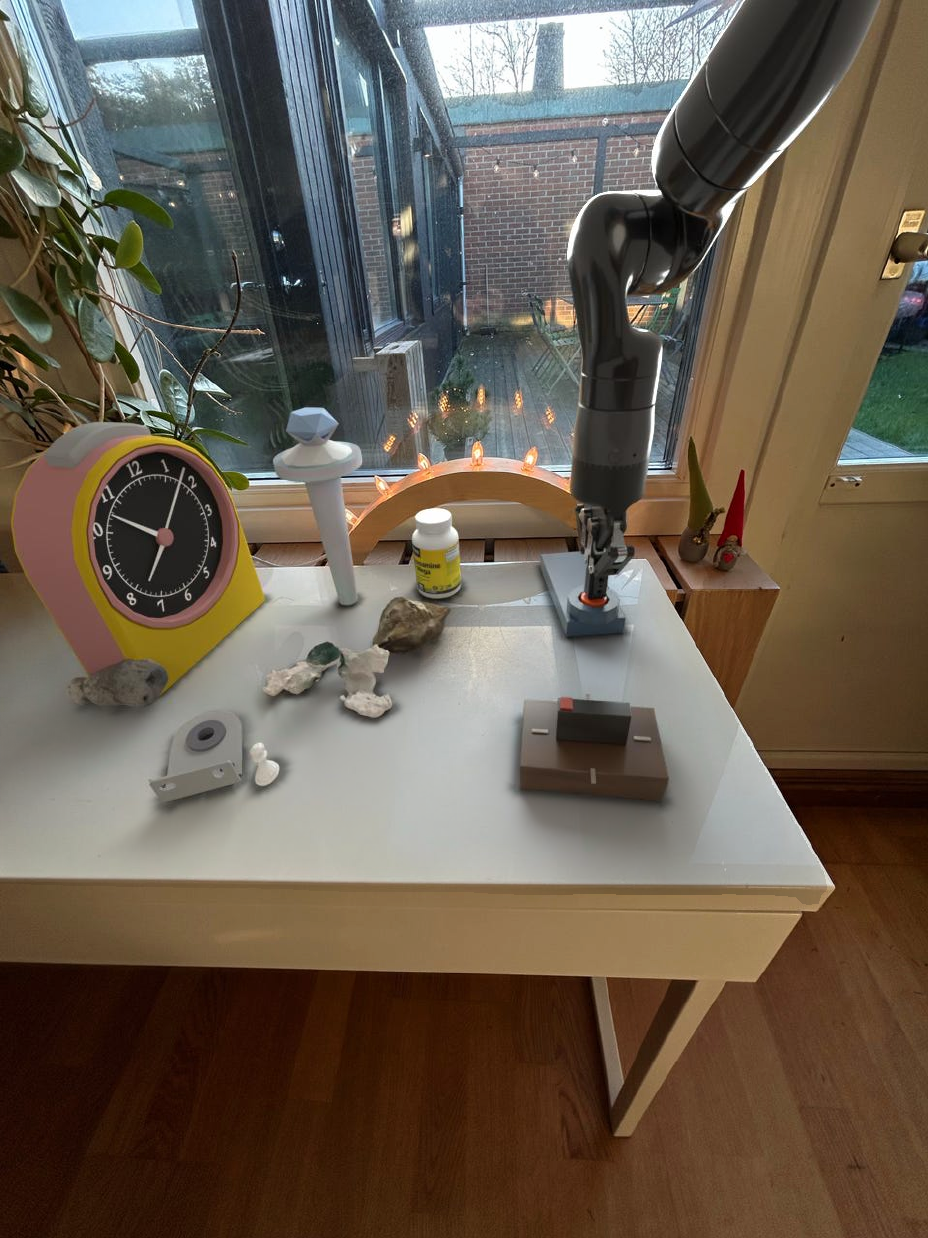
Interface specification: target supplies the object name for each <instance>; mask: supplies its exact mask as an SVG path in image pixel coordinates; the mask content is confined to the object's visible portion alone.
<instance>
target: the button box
mask: <svg viewBox="0 0 928 1238" xmlns="http://www.w3.org/2000/svg"><path fill="white" fill-rule="evenodd" d="M539 560H540V562H539V567H540V570H541V573H542V577H543V578H544V581H545V584H546V587H547V589H548V593H549V595H550V597H551V600H552V603H553V605H554V608H555V611H556V613H557V616H558V619H559V621H560V624H561V627H562V629H563V632H564V635H565V637H566V638H569V637H571V638H572V637H580V636H581V637H582V636H583V637H585V636H594V635H609V634H621V633H624V632H625V625H626V619H627V618H626V616H625V614H624V612H623V610H622V609H621V607H620V603H621V599H620V598H619V595H618V594H617V593H616V592H615V591H613V590H612V589H611V588H610V587H609V585H608V584H607V592H606V597H607V600H606V605H603V606H600V607H591V606H587V605H585V604H583V603H581V602H580V600H581V594H582V593H583V592H584V587H585V576H586V567H588V566H585V564H584V554H581V553H580V550H579V551H568V552H567V551H566V552H553V553H541V554H540V559H539Z"/></svg>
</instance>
